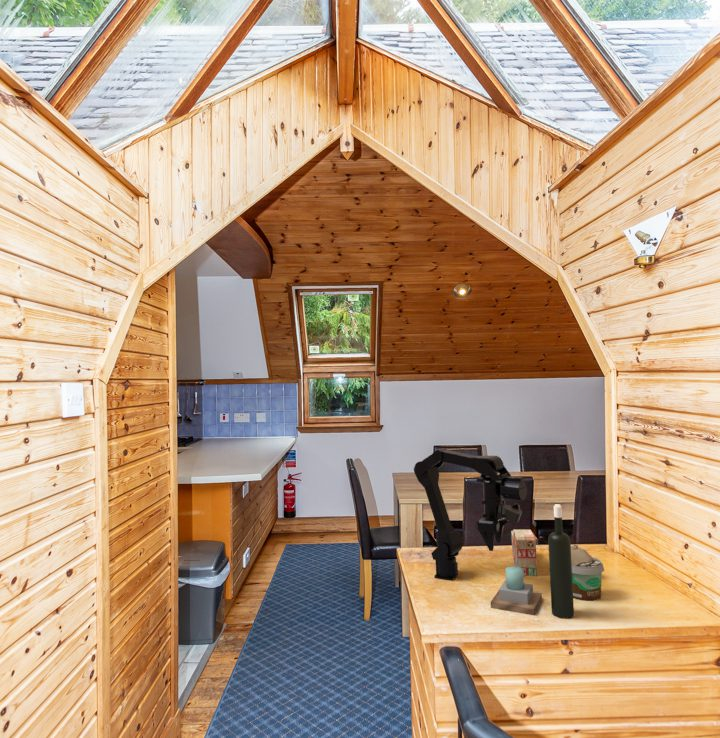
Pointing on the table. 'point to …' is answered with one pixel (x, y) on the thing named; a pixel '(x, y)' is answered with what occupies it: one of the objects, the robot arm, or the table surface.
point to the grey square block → (516, 594)
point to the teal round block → (514, 578)
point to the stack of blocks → (524, 551)
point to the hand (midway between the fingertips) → (495, 546)
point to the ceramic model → (579, 555)
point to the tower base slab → (518, 604)
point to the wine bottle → (560, 569)
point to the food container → (587, 580)
